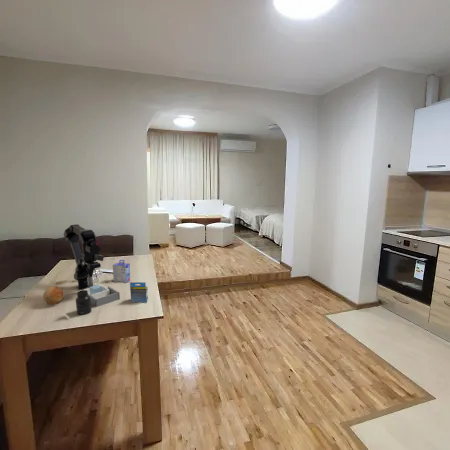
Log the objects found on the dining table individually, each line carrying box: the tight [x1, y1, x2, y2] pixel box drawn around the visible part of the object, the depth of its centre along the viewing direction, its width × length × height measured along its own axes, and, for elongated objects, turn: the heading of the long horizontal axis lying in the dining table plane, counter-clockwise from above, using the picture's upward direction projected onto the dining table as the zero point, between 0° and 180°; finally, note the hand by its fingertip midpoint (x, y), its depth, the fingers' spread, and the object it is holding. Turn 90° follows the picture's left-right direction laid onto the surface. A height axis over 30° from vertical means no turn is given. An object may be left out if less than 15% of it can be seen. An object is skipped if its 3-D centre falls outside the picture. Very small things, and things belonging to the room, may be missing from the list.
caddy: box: [83, 274, 110, 299], centre depth 165 cm, size 14×11×12 cm
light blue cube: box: [90, 284, 102, 295], centre depth 164 cm, size 5×5×5 cm
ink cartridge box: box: [112, 259, 131, 284], centre depth 187 cm, size 10×6×14 cm, turn 78°
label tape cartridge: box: [129, 281, 149, 304], centre depth 158 cm, size 9×4×12 cm, turn 91°
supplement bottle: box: [75, 289, 93, 316], centre depth 144 cm, size 7×7×12 cm
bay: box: [88, 285, 121, 308], centre depth 159 cm, size 13×14×5 cm
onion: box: [42, 285, 65, 305], centre depth 155 cm, size 10×10×10 cm
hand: (90, 276), depth 168 cm, fingers closed on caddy, 2 cm apart
